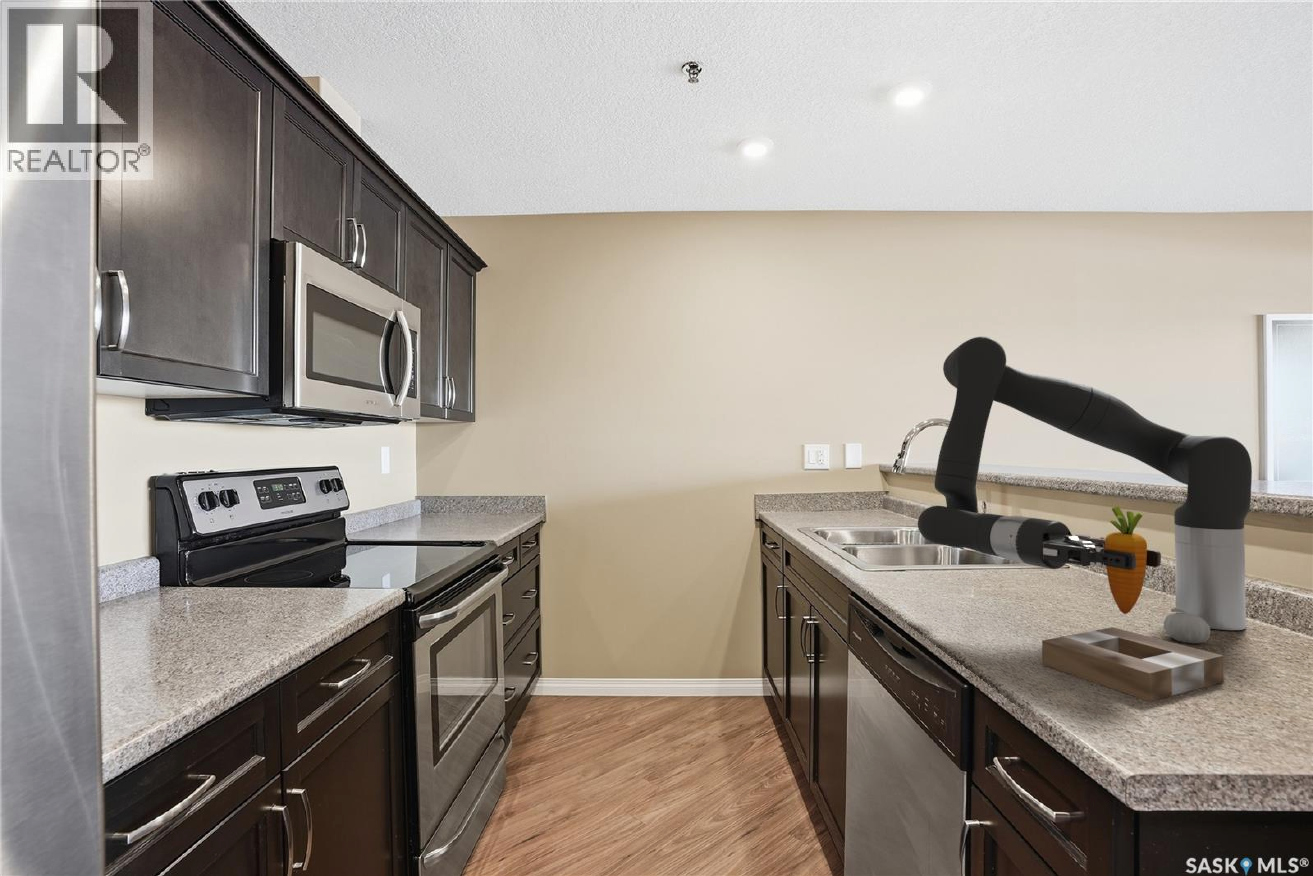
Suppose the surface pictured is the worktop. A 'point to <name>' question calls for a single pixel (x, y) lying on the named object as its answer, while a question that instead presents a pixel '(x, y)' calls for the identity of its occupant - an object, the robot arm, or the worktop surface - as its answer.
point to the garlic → (1186, 627)
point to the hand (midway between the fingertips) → (1146, 560)
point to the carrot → (1122, 580)
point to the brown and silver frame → (1133, 662)
